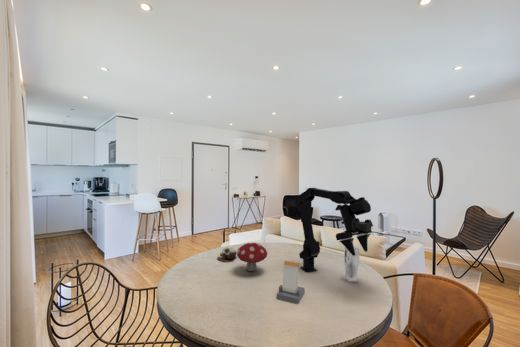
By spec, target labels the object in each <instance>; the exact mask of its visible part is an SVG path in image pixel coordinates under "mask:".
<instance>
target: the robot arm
mask: <svg viewBox="0 0 520 347" xmlns="http://www.w3.org/2000/svg"><path fill="white" fill-rule="evenodd" d="M315 197H316V198H317V197H318V198H323V199H327V200H330V201H331V202H333V203H335V204H337V205H336V207H335V209H334V210H335V211H339V213H340V216H341V219H342V221H340V222H341V225H344V228H345V230H343V232H338V233H336V235H335V238H336V241H339V243H341V244H342V245H343V246H344V248H345V247H346V248H347V249H348V251H349V252H350V253H351V254H352V255H353V256H355V250H354V246H355V245H354V243H353V242H354V239H355V237H353V236H356V239H357V241H358V242H359V244H360V246H361V248H362V249H363V251H364V252H365V253H366V252H368V251H369V250H368V238H369V237H370V235H371V234H372V228H373V227H374V224H373V222H372V220H371V219H368V218H367V219H365V220H364V221H360V218H358V217H357V216H359V215H364V214H367V213H370V212H371V210H372V208H371V207H372V206H371V204H370V203H369V201H368V200H367V199H366V198H365V197H364V196H362V197H359V198H357V199H356V198H355V197H354V196H352V194H351V193H350V191H348V190H337V191H336V190H334V191H333V190H327V189H321V188H317V187H308V188H307V189H306V190H305V191H303V192H302V193H300V194H299V195H297V196H296V197H295V200H294V202H295V205H296V209H297V210H298V212H300V216H301V217H300V218H301V223H302V229H303V236H304V240H303V241H304V242H303V244H302V250H301V251H300V252H299V254H298V255H299V258H300V259H302V265H301V266H300V269H302V270H303V271H304V272H305V273H308V272H309V273H310V272H317V271H318V270H317V268H315V259H316V258H318V256H319V254H320V252H321V246H320V242H319V241H317V240H316V239H315V235H314V228H313V223H312V217H311V208H312V202H313V201H314V200H315Z"/></svg>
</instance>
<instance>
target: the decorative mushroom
mask: <svg viewBox="0 0 520 347" xmlns="http://www.w3.org/2000/svg"><path fill="white" fill-rule="evenodd" d="M268 254H269V253H268V251H267V249H266V248H265V247H264V246H263V245H261V244H260V243H258V242H247V243H244V244H243V245H241V246H240V247H239V248H238V249H237V250H236V256H237V258H238V259H239V260H240V261H241V262H244V263H246V270H247V271H248V272H255V271H256V270H257V263H260V262H262V261H264V260H265V259H266V258H267V256H268Z"/></svg>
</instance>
